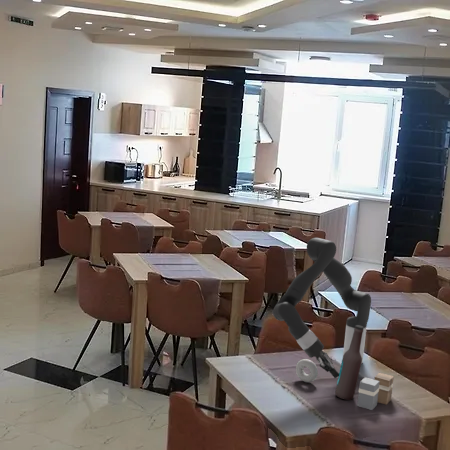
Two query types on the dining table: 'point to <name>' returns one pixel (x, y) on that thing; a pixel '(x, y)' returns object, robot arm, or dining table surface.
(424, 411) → the dining table surface
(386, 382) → the tan block
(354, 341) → the beer bottle
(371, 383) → the slate block
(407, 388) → the dining table surface
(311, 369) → the donut
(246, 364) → the dining table surface
